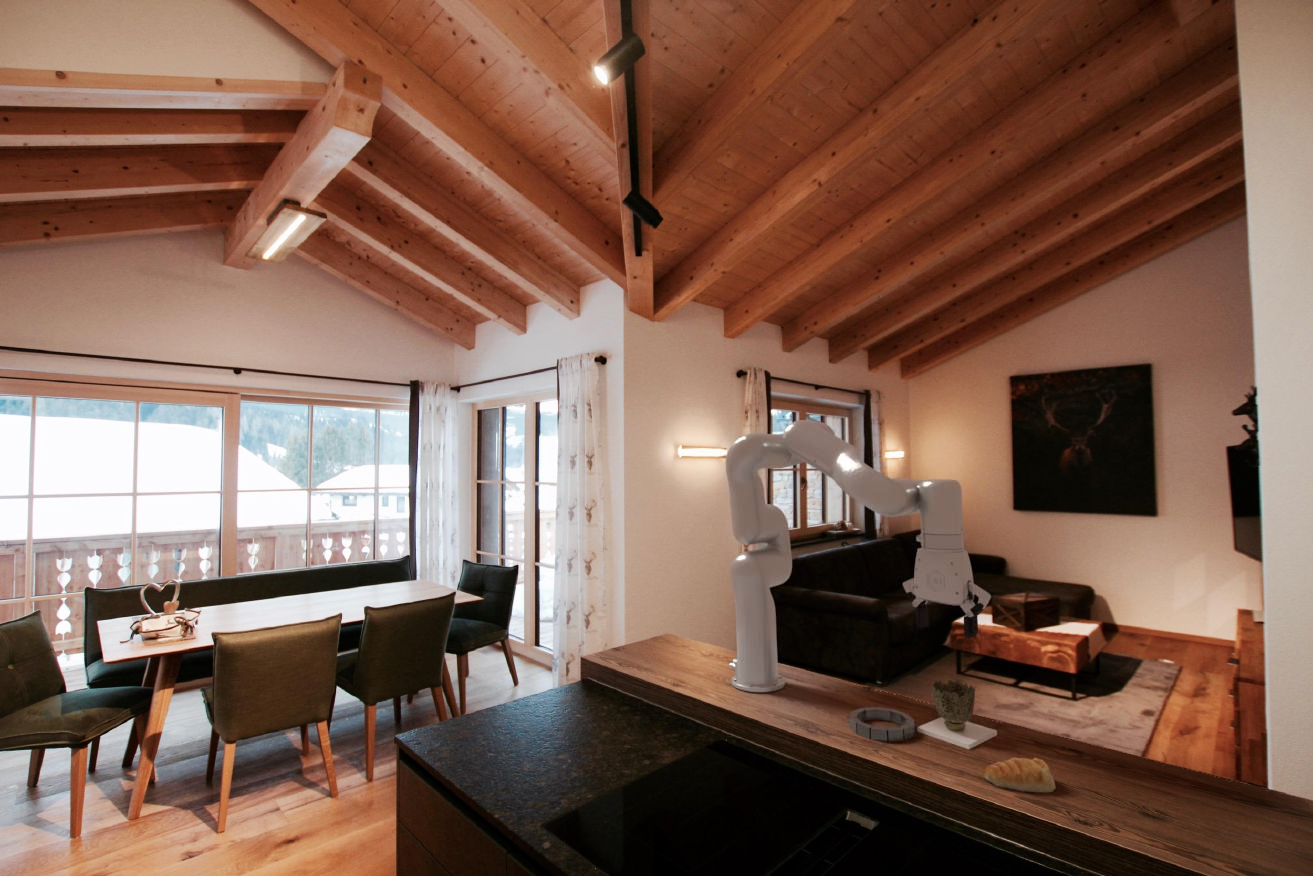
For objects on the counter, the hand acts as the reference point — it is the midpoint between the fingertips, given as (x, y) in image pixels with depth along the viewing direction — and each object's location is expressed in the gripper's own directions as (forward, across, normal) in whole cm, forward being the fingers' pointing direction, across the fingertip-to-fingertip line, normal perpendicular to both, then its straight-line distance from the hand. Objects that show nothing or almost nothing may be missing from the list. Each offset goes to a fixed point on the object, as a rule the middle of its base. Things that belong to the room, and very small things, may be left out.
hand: (946, 632), depth 120 cm
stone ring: (+19, -8, -9) cm, 23 cm away
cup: (+18, +1, 0) cm, 18 cm away
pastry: (+19, +18, -10) cm, 28 cm away
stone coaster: (+19, +1, 0) cm, 19 cm away
